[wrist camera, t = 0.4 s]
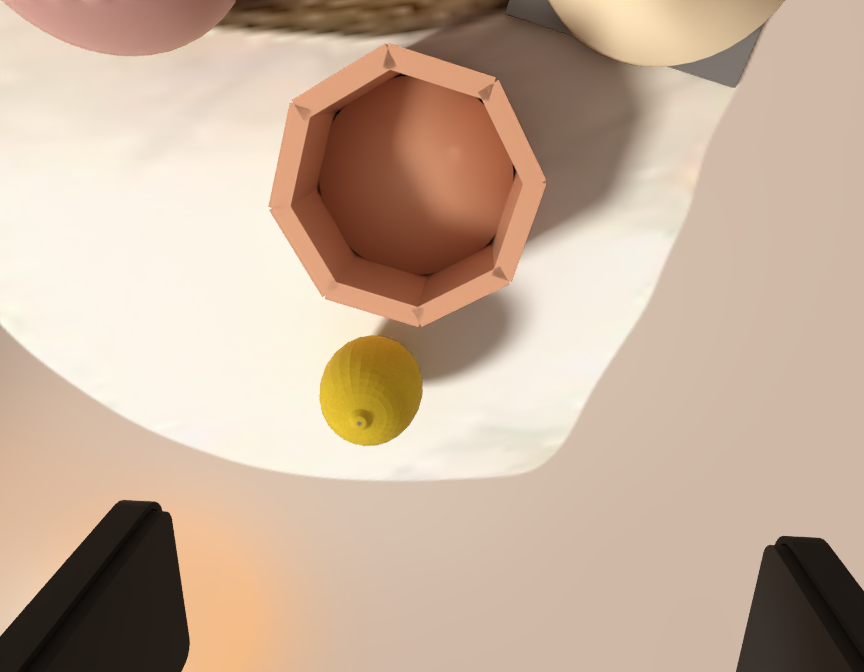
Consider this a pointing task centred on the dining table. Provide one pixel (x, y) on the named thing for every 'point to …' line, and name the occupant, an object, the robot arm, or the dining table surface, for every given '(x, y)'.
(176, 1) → the mortar and pestle
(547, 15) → the mat
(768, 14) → the lid
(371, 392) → the lemon
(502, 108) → the bowl
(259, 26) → the dining table surface
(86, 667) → the robot arm
